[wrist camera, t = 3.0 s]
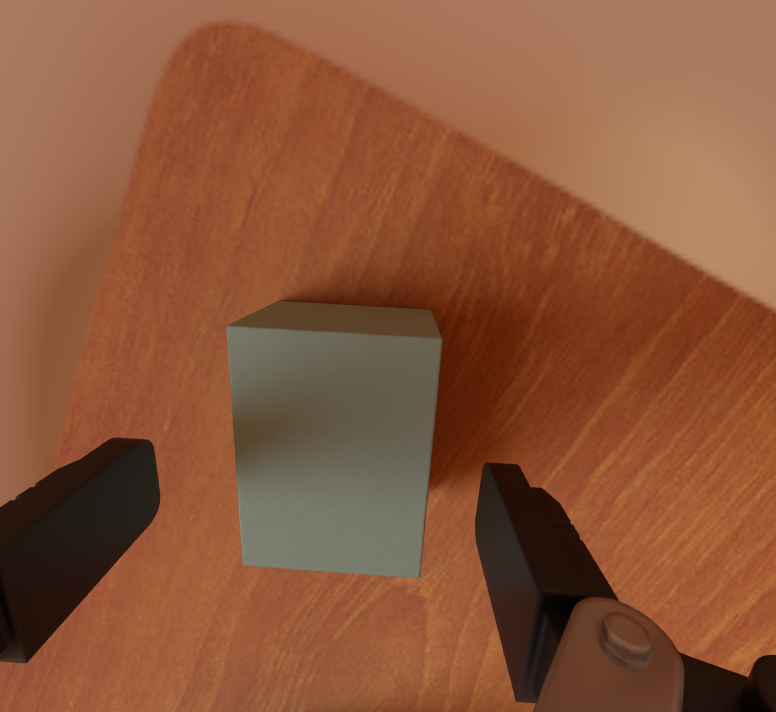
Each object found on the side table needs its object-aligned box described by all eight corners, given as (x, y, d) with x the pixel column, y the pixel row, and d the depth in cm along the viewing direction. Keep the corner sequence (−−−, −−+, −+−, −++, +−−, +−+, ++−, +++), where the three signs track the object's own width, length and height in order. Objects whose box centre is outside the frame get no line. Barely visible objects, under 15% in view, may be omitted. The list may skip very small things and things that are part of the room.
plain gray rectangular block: (277, 300, 13) (225, 325, 9) (431, 309, 13) (443, 338, 9) (283, 483, 15) (242, 566, 11) (415, 492, 15) (420, 579, 11)
